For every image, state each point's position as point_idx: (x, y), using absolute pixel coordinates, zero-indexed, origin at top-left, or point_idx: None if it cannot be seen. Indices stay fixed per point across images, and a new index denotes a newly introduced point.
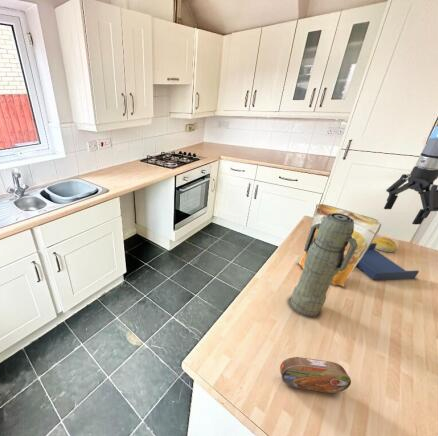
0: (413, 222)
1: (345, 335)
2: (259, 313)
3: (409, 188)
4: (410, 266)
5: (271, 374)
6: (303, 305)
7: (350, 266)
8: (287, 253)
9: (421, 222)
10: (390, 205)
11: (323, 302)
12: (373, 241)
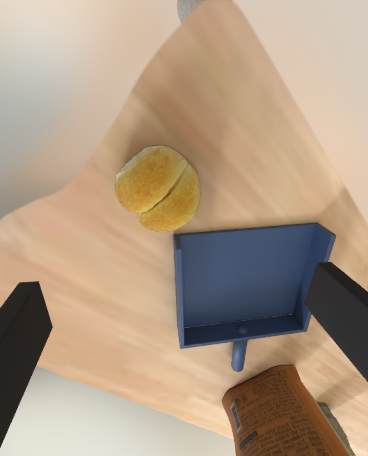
0: (315, 311)
1: (362, 391)
2: None
3: None
4: (274, 186)
5: (362, 441)
6: None
7: (320, 420)
8: (184, 409)
9: (343, 274)
10: (25, 337)
11: (346, 436)
12: (144, 226)
